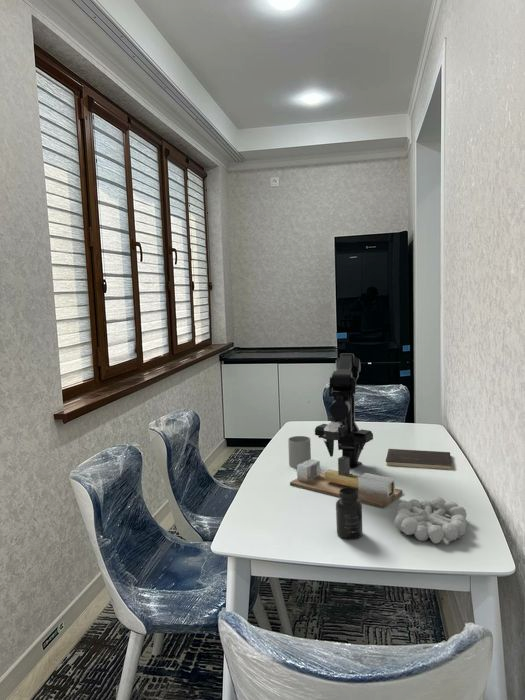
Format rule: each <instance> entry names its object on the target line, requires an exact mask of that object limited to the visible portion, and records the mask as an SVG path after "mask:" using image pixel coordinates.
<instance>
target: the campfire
mask: <svg viewBox="0 0 525 700" xmlns="http://www.w3.org/2000/svg"><path fill="white" fill-rule="evenodd" d="M397 509H398V510H397V512H396V516H395V517H394V522H393V523H394V525H395V527H396V529H398V530H399V531H402V532H403V533H404V534H405V535H406V536H407V535H408V536H412V535H414V537H415V538H416V539H417V540H418V541H421V542H425V541H428V539H430V540H431V542H432V543H433V544H435V545H436V544H439V543H440V542H441V541H442V539H443V538H444V540H446V541H449V542H450V541H456V540H457V538H458V537H462V536H464V535H466V529H467V526H468V523H467V519H466V518H467V511H466V509H465V508H464V507H462V506H459V504H458V503H457V502H454V501H448V502H447V501H446V500H445V499H444V498H443V497H440V496H437V497H435V498H433V500H431V501H429V500H428V499H424V500H421V501H419V500H417V499H413V498H411V499H410V500H408V501H407V500H403V501H401V502H400V503H398V507H397ZM446 515H448V516H449V517H450V518H449V517H446Z"/></svg>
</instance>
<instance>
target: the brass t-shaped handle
mask: <svg viewBox="0 0 525 700" xmlns="http://www.w3.org/2000/svg"><path fill="white" fill-rule="evenodd" d="M337 466H338V467H337V469H338V470H335V469H331V468H330V469H327V470H326V471H324V473H325V481H329V482H334V483H338V484H342V485H346V486H351V487H355V488H358V477H360V476H361V475H358V474H353V473H350V472H351V471H350V469H351V468H350V461H349V457H345V456H342V455H341V456H340V457H338V458H337ZM391 492H392V483H391V484H389V494H390V493H391Z"/></svg>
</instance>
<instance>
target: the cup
mask: <svg viewBox="0 0 525 700" xmlns="http://www.w3.org/2000/svg"><path fill="white" fill-rule="evenodd" d="M287 442H288V465H289V467H290V468H293V469H297V465H299V464H301V463H303V462H305V461H307V460H309V459H312V455H311V453H312V451H311V450H312V449H311V445H312V444H311V438H310V437H309V436H305V435H296V436H295V435H294V436H291V437H289V438H288V440H287Z"/></svg>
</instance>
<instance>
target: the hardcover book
mask: <svg viewBox="0 0 525 700" xmlns="http://www.w3.org/2000/svg"><path fill="white" fill-rule="evenodd" d="M386 453H387V454H386V458H385V463H386V466H391V467H392V466H393V467H407V468H408V467H410V468H424V469H435V470H436V469H437V470H439V469H440V470H452V467H453V465H452V457H451V451H435V450H433V451H432V450H417V449H400V448H399V449H398V448H388V450H387V452H386Z"/></svg>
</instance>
